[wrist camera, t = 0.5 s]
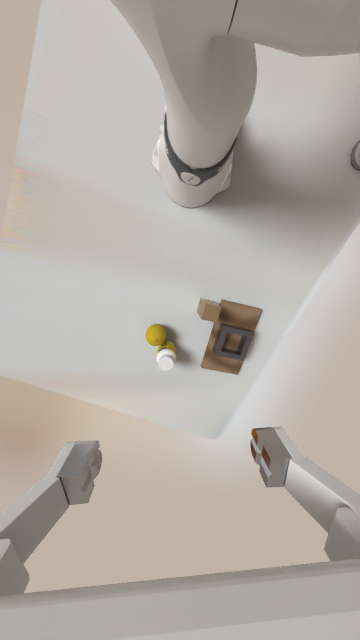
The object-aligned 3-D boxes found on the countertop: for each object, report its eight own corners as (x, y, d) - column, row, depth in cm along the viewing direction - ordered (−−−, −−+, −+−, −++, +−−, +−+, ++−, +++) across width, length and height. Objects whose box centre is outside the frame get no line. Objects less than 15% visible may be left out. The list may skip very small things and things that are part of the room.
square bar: (200, 298, 50) (205, 303, 42) (213, 301, 50) (221, 307, 42) (196, 311, 51) (201, 319, 43) (209, 314, 51) (216, 322, 44)
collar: (220, 322, 51) (223, 326, 48) (249, 329, 52) (254, 332, 49) (212, 350, 53) (214, 355, 50) (239, 355, 54) (243, 360, 51)
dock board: (221, 299, 50) (222, 300, 49) (259, 308, 51) (261, 309, 50) (201, 365, 56) (201, 367, 55) (236, 372, 57) (237, 374, 56)
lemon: (170, 327, 52) (170, 337, 44) (160, 341, 53) (158, 354, 45) (154, 317, 51) (151, 325, 43) (144, 332, 52) (139, 343, 44)
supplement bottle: (166, 335, 52) (165, 350, 43) (179, 346, 54) (181, 363, 44) (154, 348, 53) (151, 365, 44) (167, 358, 55) (167, 377, 45)
